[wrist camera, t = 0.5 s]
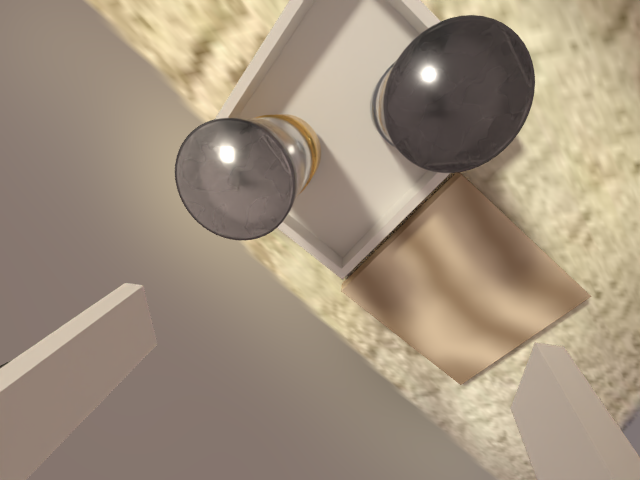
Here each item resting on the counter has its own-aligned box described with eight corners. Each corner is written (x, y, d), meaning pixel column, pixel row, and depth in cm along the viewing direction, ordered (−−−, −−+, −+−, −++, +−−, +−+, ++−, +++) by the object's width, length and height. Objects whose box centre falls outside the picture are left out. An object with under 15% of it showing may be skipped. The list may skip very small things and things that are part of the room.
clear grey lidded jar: (407, 44, 25) (463, -27, 12) (463, 99, 26) (569, 89, 13) (353, 110, 27) (353, 111, 14) (407, 159, 28) (451, 201, 15)
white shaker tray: (343, -57, 24) (341, -82, 21) (500, 105, 27) (520, 104, 24) (207, 153, 31) (189, 158, 28) (343, 263, 34) (342, 279, 31)
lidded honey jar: (280, 97, 27) (215, 86, 15) (336, 146, 29) (321, 176, 16) (240, 155, 30) (153, 189, 17) (293, 198, 31) (249, 262, 18)
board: (456, 171, 29) (462, 174, 28) (581, 288, 32) (591, 296, 31) (341, 284, 35) (341, 291, 33) (456, 374, 38) (460, 384, 36)
